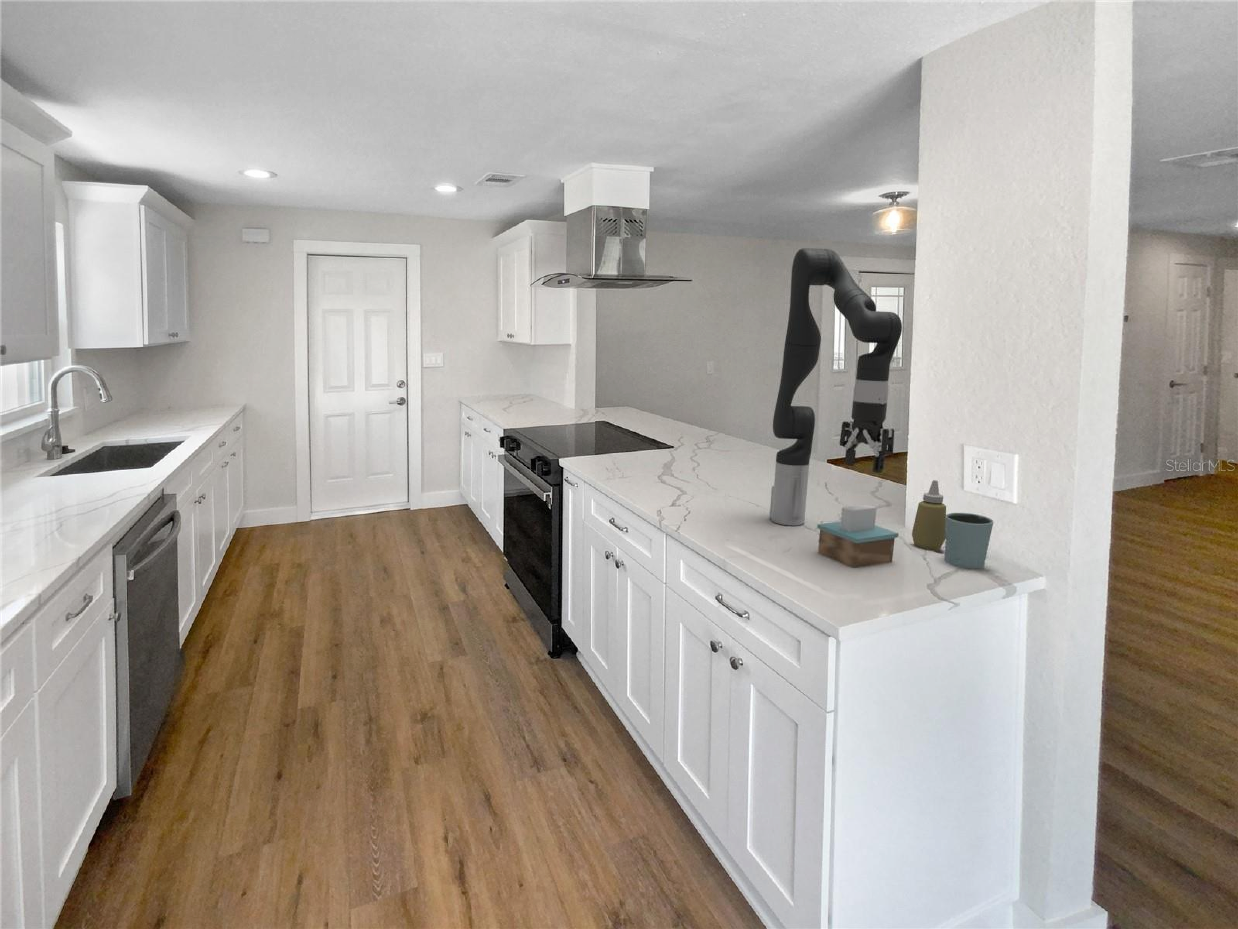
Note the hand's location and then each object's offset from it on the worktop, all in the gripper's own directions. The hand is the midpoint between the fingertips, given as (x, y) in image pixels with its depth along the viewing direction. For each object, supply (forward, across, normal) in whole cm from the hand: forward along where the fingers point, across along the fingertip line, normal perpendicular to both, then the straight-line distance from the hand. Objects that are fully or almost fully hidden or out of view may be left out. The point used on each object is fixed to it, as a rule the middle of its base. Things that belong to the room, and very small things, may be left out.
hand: (863, 468), depth 168 cm
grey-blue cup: (+23, +13, +22) cm, 34 cm away
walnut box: (+22, 0, 0) cm, 22 cm away
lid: (+16, 0, 0) cm, 16 cm away
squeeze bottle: (+23, 0, +25) cm, 34 cm away
